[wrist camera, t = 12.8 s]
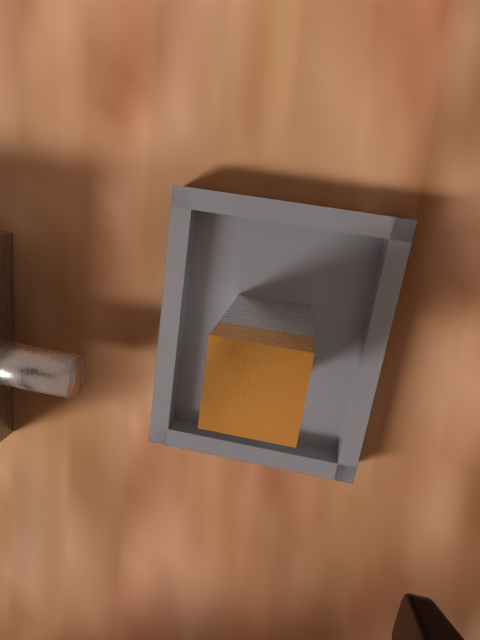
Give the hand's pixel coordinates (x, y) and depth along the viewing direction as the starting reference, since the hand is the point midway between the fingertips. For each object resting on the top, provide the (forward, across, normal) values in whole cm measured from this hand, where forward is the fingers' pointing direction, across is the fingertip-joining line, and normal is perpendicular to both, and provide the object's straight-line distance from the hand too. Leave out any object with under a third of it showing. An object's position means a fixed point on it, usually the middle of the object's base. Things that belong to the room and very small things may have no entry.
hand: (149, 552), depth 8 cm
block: (+11, -1, -1) cm, 12 cm away
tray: (+12, -1, -1) cm, 12 cm away
